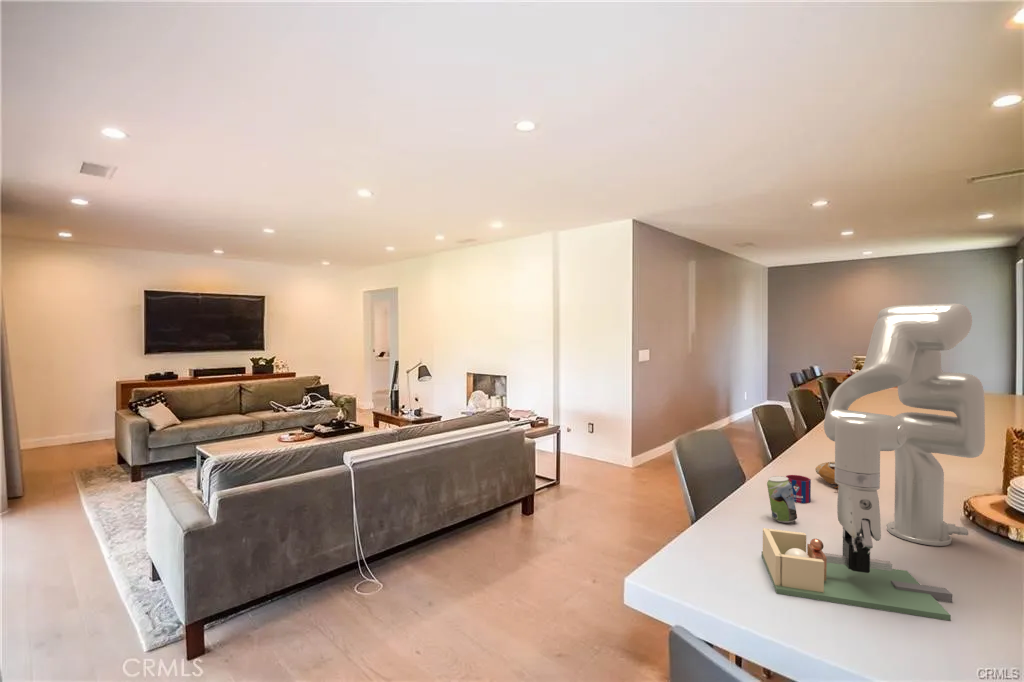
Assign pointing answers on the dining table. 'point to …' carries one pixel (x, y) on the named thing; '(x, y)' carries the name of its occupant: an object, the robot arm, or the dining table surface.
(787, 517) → the beverage can
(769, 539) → the pitch
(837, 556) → the copper sphere contraption
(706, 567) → the dining table surface
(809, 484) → the mug
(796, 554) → the ball
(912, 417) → the robot arm
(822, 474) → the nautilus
